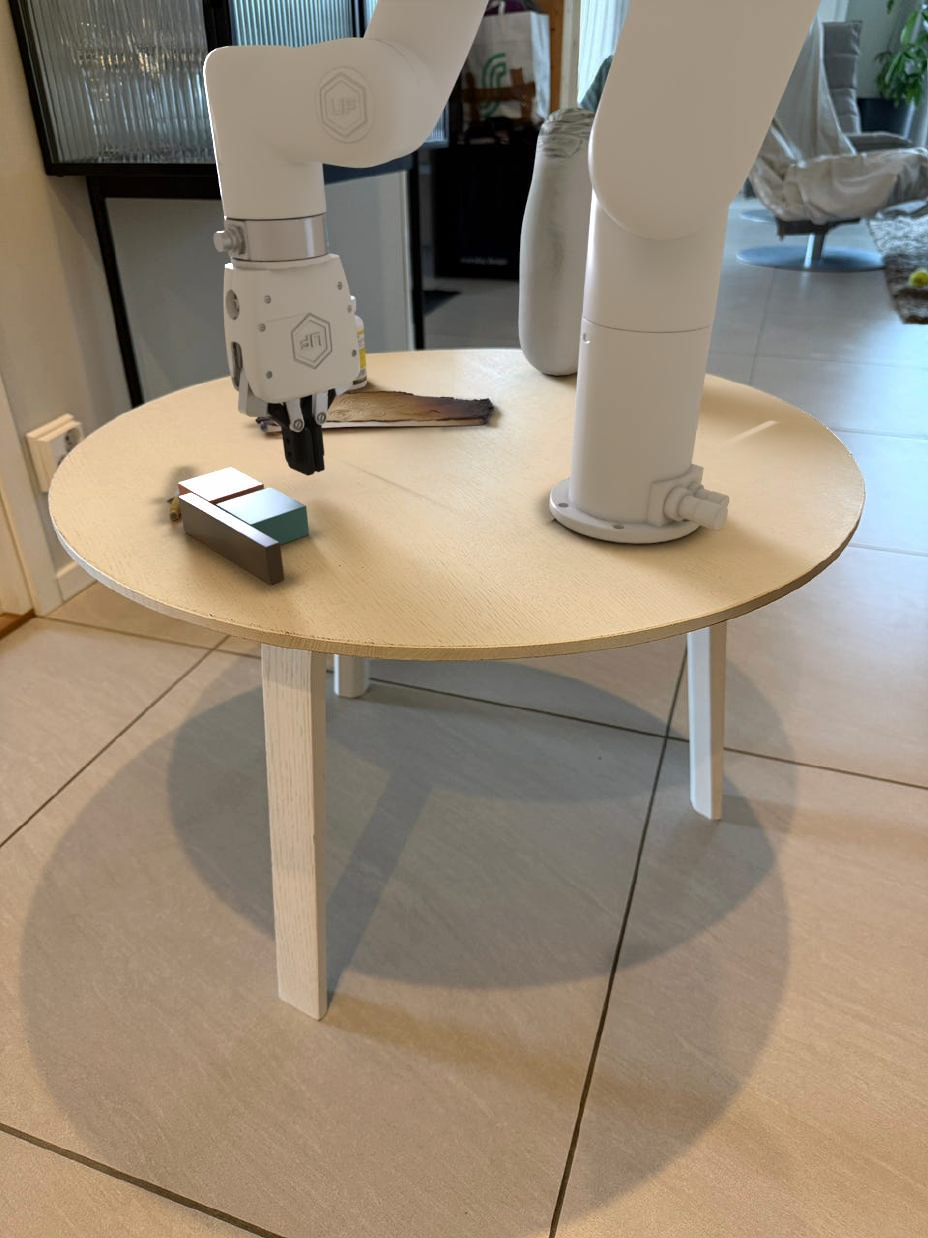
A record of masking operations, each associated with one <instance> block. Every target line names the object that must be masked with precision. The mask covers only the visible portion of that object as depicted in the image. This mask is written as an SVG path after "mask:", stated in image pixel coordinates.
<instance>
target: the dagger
mask: <svg viewBox="0 0 928 1238" xmlns="http://www.w3.org/2000/svg"><path fill="white" fill-rule="evenodd" d="M178 497H180V494H179V489H178V488H177V490H176V491H175V494H174V496H173V497H171V498H169V499H167V500H166V501H167V503H168V502H170V503H171V504H170V507H169V515H168V516H169V518H170V520H173V521H176V520H178V519H179V516H181V515H180V514H181V510H180V504H179V499H178Z"/></svg>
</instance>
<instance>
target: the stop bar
mask: <svg viewBox="0 0 928 1238" xmlns="http://www.w3.org/2000/svg"><path fill="white" fill-rule="evenodd" d="M178 499H179V504H180V510H181V513H180V514H181V515H180V516H181V520H182V526H183V531H184V533H186V534H188V535H189V536H191V537H192V538H194V539H195V540H197V541H199V542H201V543H202V544H203V545H205V546H207V547H208V548H210V549H212V550H213V551H215V552H217V553H218V554H220V555H221V556H223V557H225V558H226V559H228V560H230V561H231V562H233V563H234V564H236V565H237V566H239V567H240V568H242V569H244V570H246V571H247V572H249V573H250V574H253V575H254V576H255V577H256V578H258V579H260V580H261V581H263V582H265V583H267V584H268V585H270V586H272V585H274V584H277V583H280V582H282V581H285V574H284V566H283V565H284V564H283V557H282V548H281V545H280V542H278V541H276V540H275V539H273V538H271V537H269V536H267V535H266V534H264V533H262V532H260V531H259V530H257V529H255V528H253V527H251V526H250V525H248V524H246V523H244V522H243V521H241V520H239V519H237V518H235V517H234V516H232V515H230V514H228V513H227V512H225V511H223V510H221V509H220V508H218V507H216V506H214V505H212V504H211V503H209V502H207V501H205V500H204V499H202V498H200V497H198V496H196V495H195V494H193V493H189V494H186V495H183V496H180V497H178Z"/></svg>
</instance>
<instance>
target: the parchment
mask: <svg viewBox="0 0 928 1238" xmlns="http://www.w3.org/2000/svg"><path fill="white" fill-rule="evenodd" d="M493 411H495V407H494V404H493V403H492V401H491V399H490V398H489V397H487V398H479V399H477V398H473V399H470V400H469V399H462V398H459V399H458V398H455V397H454V396H429V395H428V396H427V395H425V396H424V395H416V394H414V393H412V392H405V391H400V390H398V391H397V390H377V391H373V390H372V391H355V392H350V391H348V392H347V391H346V392H344V393H342V394H341V395H339V396H336V397H335V399H334V400H333V402H332V404H331V406H330V407H329V409H328V411H327V421H326V422H325V423H324V424H323V425H321V426H322V429H327V428H346V427H348V428H349V427H350V428H351V427H355V428H356V427H428V426H429V427H433V426H434V427H436V426H437V427H442V426H443V427H444V426H445V427H446V426H448V427H449V426H485V425H486V421H488V420H489V419H490V418H491V417H492V415H491V413H493ZM255 422H256V423H257V424H258V425H260V428H259V429H260V430H261V431H262V432H263V433H265V432H266V433H273V432H282V430H281V426H279V425H277V424H275V422H274V421H273V420H272V419H270V418H269V417H268V416H267V417H256V418H255ZM262 423H263V424H262Z"/></svg>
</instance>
